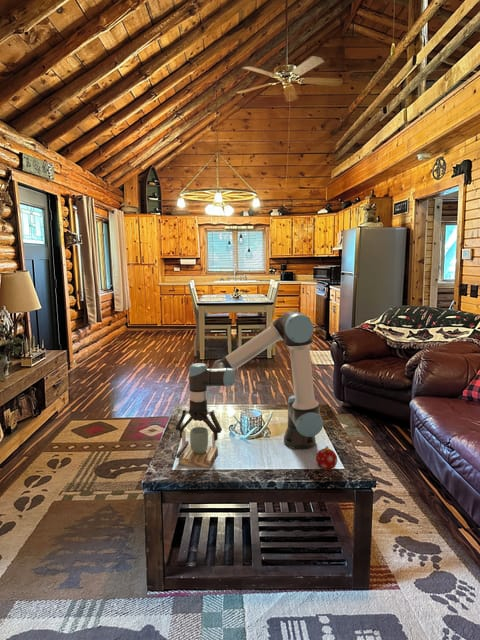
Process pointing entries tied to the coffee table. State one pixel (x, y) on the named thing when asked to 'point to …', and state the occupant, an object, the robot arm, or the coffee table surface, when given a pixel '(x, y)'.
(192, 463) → the pallet dock
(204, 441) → the cup
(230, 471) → the coffee table surface
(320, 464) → the christmas ornament
